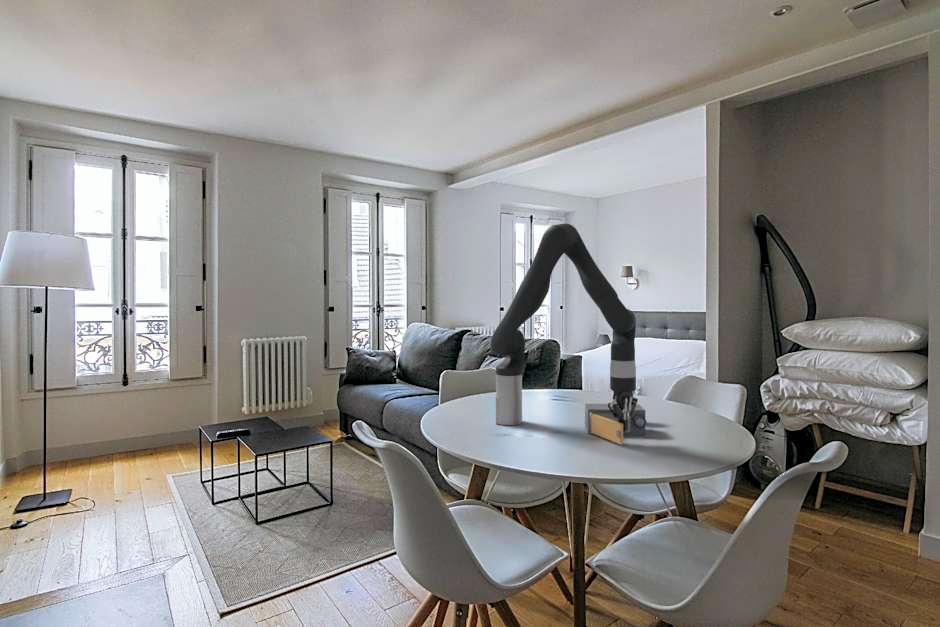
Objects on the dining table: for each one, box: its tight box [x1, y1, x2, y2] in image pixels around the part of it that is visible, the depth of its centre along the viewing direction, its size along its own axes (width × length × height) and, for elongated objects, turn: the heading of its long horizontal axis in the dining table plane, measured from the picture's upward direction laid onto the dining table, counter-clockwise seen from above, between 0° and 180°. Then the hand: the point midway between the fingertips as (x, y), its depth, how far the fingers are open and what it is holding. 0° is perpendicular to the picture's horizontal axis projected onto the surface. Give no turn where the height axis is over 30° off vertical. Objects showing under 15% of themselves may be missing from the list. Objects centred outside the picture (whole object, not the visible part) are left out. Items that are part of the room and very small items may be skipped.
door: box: [589, 412, 624, 445], centre depth 158 cm, size 15×2×7 cm, turn 23°
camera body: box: [584, 403, 647, 436], centre depth 168 cm, size 18×11×9 cm, turn 84°
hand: (623, 431), depth 155 cm, fingers closed
